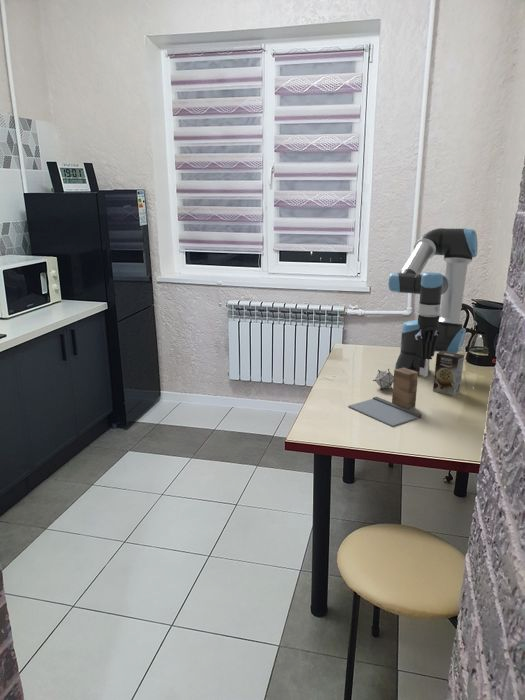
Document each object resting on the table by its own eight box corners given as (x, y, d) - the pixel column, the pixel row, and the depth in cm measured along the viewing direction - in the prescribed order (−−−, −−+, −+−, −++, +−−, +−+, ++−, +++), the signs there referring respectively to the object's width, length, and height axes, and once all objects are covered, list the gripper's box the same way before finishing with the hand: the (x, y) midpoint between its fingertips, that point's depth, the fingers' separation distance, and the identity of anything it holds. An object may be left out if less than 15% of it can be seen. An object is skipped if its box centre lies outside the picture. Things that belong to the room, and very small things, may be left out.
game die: (387, 397, 214) (397, 384, 206) (368, 389, 214) (377, 375, 207) (392, 382, 219) (401, 368, 212) (373, 374, 220) (382, 360, 212)
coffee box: (432, 391, 211) (435, 353, 207) (439, 387, 216) (442, 350, 211) (453, 396, 205) (458, 357, 201) (460, 392, 210) (464, 354, 205)
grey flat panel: (376, 398, 202) (376, 396, 202) (421, 417, 184) (421, 414, 184) (348, 406, 194) (348, 404, 194) (392, 426, 176) (392, 424, 176)
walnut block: (400, 401, 199) (403, 367, 195) (415, 407, 193) (418, 372, 190) (391, 404, 196) (394, 369, 193) (406, 410, 191) (409, 374, 187)
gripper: (425, 318, 185) (420, 380, 191) (448, 314, 192) (442, 374, 198) (409, 315, 191) (404, 375, 197) (431, 311, 198) (426, 369, 204)
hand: (423, 375), depth 198 cm, fingers closed
